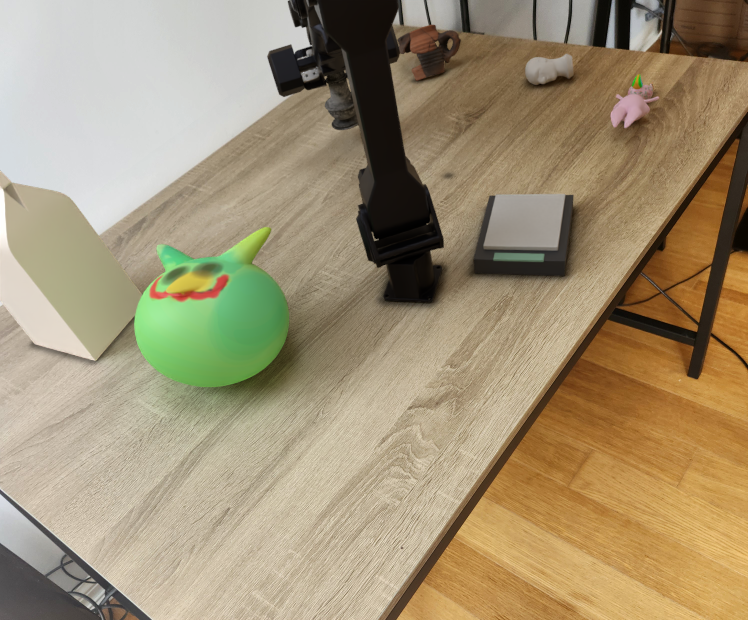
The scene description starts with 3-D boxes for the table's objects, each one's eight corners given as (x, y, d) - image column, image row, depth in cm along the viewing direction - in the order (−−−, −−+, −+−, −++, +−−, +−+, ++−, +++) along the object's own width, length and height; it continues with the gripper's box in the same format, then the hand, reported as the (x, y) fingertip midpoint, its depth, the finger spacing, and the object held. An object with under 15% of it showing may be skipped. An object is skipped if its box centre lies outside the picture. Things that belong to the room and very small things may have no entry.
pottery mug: (400, 88, 118) (386, 40, 116) (415, 86, 126) (402, 41, 124) (462, 63, 113) (448, 13, 110) (473, 63, 121) (461, 16, 118)
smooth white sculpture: (523, 93, 110) (529, 70, 111) (571, 92, 107) (577, 68, 108) (519, 73, 106) (526, 49, 108) (569, 72, 103) (576, 47, 104)
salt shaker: (324, 121, 109) (304, 49, 100) (356, 108, 109) (339, 35, 101) (337, 135, 105) (318, 61, 96) (370, 121, 106) (353, 46, 97)
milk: (146, 301, 92) (40, 135, 73) (95, 361, 86) (-36, 198, 67) (87, 288, 97) (-28, 130, 78) (34, 344, 91) (-105, 187, 72)
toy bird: (148, 411, 78) (83, 328, 67) (191, 311, 89) (141, 225, 78) (288, 409, 74) (243, 320, 63) (316, 305, 84) (281, 213, 73)
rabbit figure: (621, 99, 103) (596, 137, 94) (626, 60, 99) (600, 95, 90) (663, 102, 100) (641, 141, 91) (670, 61, 96) (648, 97, 87)
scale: (564, 276, 79) (565, 257, 77) (474, 274, 82) (472, 255, 80) (573, 209, 86) (573, 190, 84) (490, 209, 90) (489, 191, 88)
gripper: (379, -47, 87) (377, 12, 103) (246, -6, 87) (264, 47, 103) (403, 34, 88) (397, 80, 103) (272, 75, 88) (286, 115, 103)
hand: (336, 79), depth 103 cm, fingers closed on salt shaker, 3 cm apart
